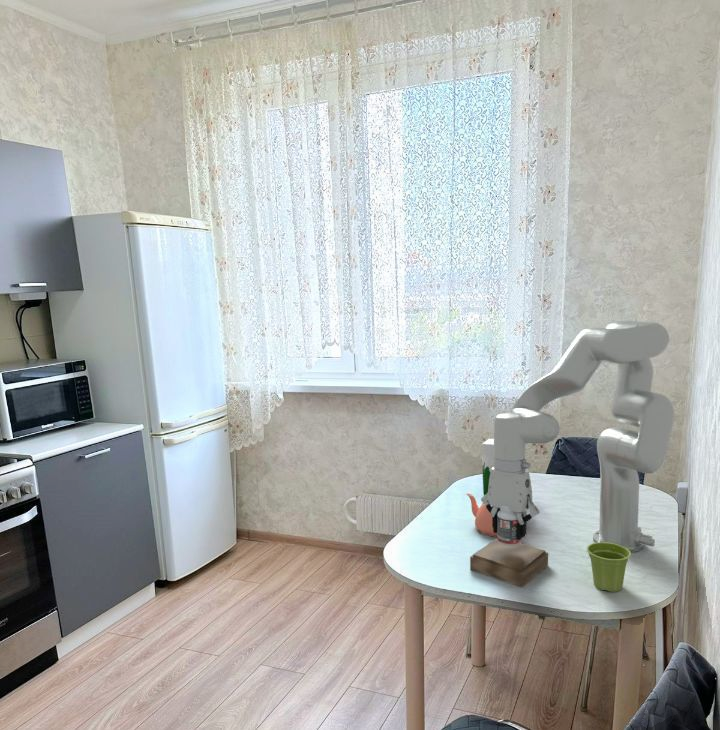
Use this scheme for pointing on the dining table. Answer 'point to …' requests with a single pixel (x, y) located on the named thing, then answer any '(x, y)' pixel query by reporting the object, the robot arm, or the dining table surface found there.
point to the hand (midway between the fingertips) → (509, 533)
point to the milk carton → (487, 462)
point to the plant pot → (608, 565)
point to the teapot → (482, 517)
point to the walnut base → (509, 562)
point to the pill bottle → (507, 527)
